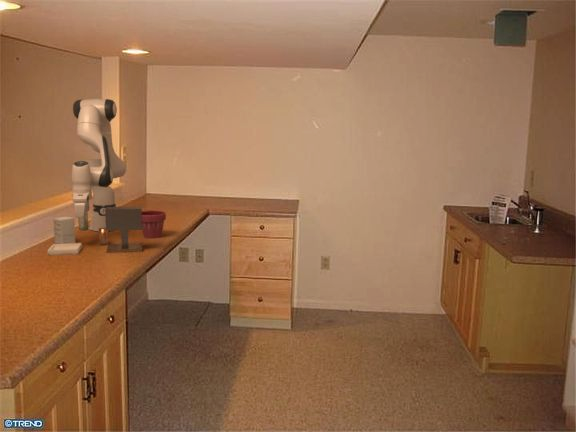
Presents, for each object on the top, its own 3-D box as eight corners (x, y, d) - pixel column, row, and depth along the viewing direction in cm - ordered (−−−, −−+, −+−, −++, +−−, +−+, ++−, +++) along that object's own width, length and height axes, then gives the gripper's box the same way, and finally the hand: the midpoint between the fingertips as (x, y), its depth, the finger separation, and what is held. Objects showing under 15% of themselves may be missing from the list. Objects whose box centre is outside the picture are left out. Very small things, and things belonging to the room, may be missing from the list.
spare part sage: (79, 228, 281) (78, 212, 279) (89, 228, 282) (88, 212, 280) (78, 230, 276) (77, 214, 275) (87, 230, 277) (87, 214, 276)
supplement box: (68, 240, 289) (66, 216, 286) (76, 242, 284) (74, 217, 282) (54, 243, 283) (52, 218, 281) (62, 245, 278) (60, 219, 276)
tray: (53, 248, 272) (52, 244, 271) (82, 247, 274) (81, 243, 274) (47, 255, 259) (47, 250, 259) (77, 254, 262) (77, 249, 261)
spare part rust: (99, 243, 283) (98, 227, 282) (109, 243, 284) (108, 227, 283) (98, 245, 279) (97, 229, 278) (108, 245, 280) (107, 229, 278)
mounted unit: (109, 246, 276) (107, 206, 273) (143, 245, 280) (141, 205, 276) (106, 252, 265) (104, 210, 261) (142, 251, 268) (140, 209, 265)
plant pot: (159, 240, 292) (158, 215, 290) (133, 238, 295) (133, 214, 293) (170, 234, 306) (169, 211, 304) (146, 233, 309) (145, 209, 307)
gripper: (78, 191, 285) (79, 219, 288) (71, 199, 265) (73, 228, 268) (91, 191, 286) (93, 218, 289) (86, 199, 267) (87, 227, 269)
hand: (83, 223), depth 278 cm, fingers closed on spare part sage, 4 cm apart
